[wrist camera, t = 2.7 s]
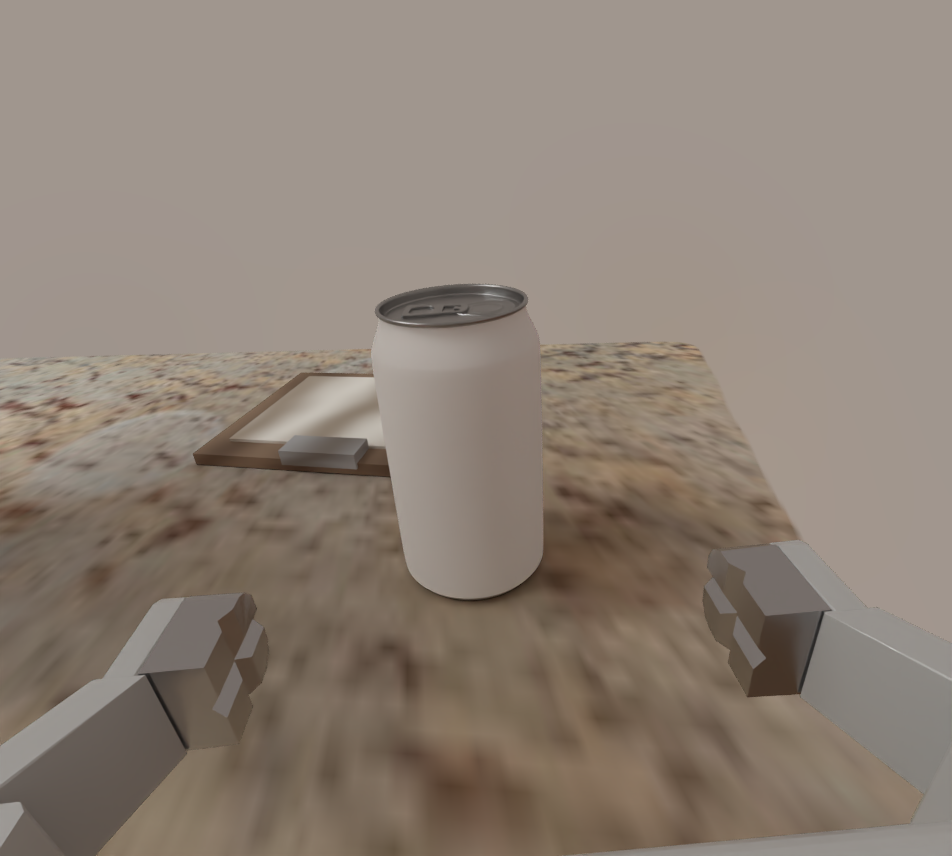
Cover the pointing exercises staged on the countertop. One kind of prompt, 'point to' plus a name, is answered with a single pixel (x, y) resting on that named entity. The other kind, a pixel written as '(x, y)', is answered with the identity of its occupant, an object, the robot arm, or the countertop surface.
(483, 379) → the can
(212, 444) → the clipboard
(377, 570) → the countertop surface
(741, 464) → the countertop surface
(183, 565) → the countertop surface
